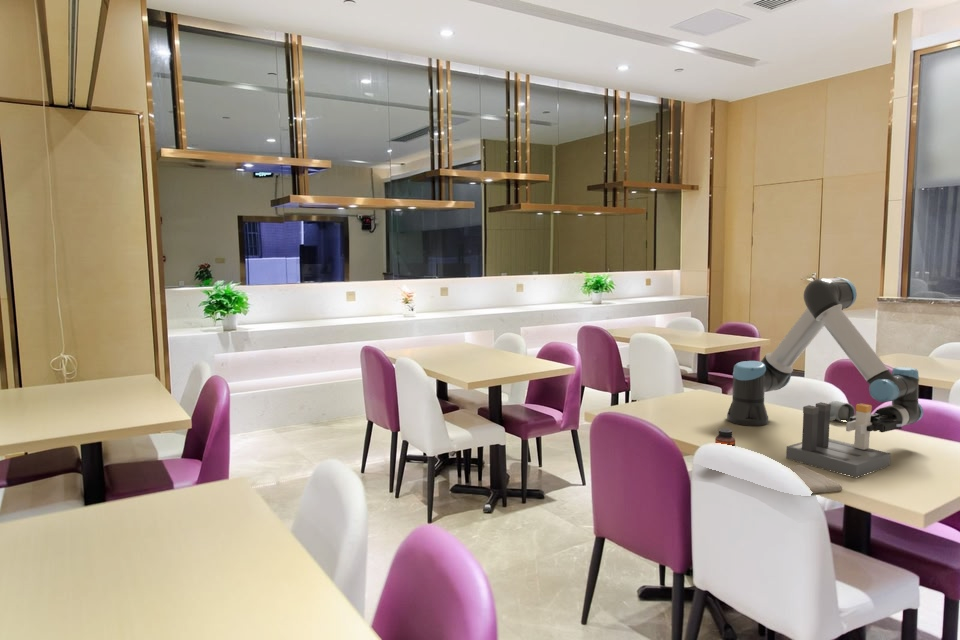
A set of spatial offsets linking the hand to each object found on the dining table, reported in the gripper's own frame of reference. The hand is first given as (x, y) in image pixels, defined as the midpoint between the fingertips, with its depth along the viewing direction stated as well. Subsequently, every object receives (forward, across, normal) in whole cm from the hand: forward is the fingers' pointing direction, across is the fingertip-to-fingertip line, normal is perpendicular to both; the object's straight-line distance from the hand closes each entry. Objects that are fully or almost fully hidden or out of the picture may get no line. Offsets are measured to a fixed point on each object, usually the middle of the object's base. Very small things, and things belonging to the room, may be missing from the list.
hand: (853, 428), depth 199 cm
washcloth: (+28, 0, -12) cm, 30 cm away
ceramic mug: (-48, +30, -12) cm, 58 cm away
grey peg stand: (+2, +4, -12) cm, 12 cm away
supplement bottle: (+34, +22, -12) cm, 42 cm away
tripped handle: (-5, 0, -8) cm, 9 cm away
